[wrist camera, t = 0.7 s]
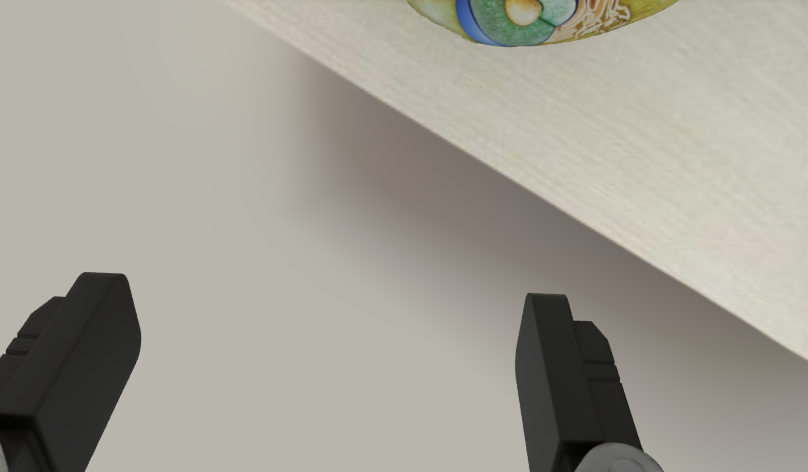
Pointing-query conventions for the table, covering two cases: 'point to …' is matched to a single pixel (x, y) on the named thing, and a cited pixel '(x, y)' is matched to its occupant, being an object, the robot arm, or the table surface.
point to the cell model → (534, 18)
